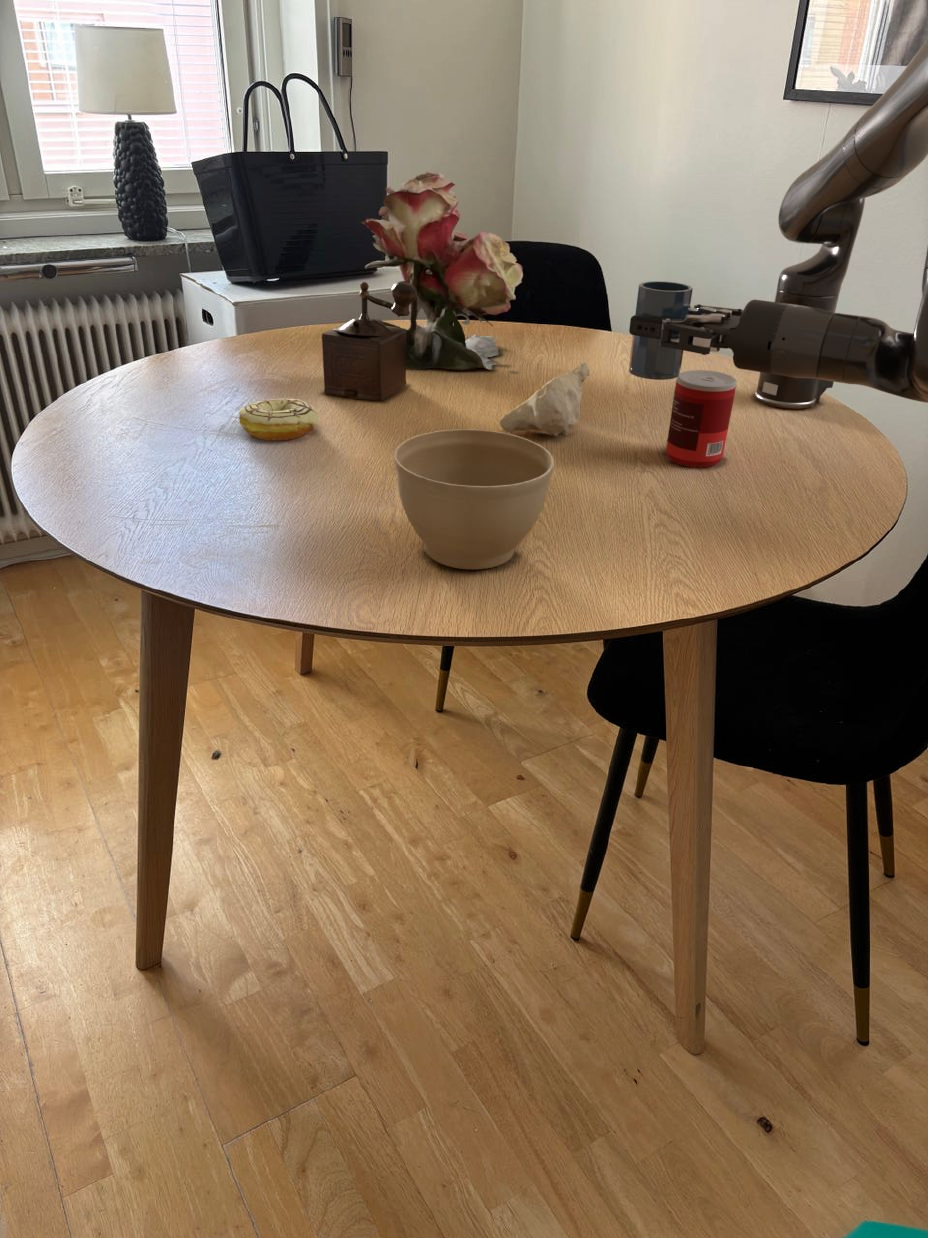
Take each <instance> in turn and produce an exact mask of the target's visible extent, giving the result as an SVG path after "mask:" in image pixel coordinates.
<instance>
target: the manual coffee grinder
mask: <svg viewBox="0 0 928 1238" xmlns="http://www.w3.org/2000/svg"><path fill="white" fill-rule="evenodd" d="M359 286H360V291H359V297H360V298H361V314H360V317H356V318H352V319H351V320H349V321H348V322H346V323H343V324H341V325H339V326H336V327H334V328H331V329H329V330H326V331H325V332H322V334H321V345H322V346H321V347H322V367H323V384H324V389H323V394H325V395H329V396H330V395H331V396H336V397H343V398H349V399H359V400H360V399H361V400H369V401H381V402H382V401H384V400H387V399H390V398H391V397H393V396H394V395H396V394H398V393H399V392H401V391H402V390H403V389H404V388H405V387H406V386H407V368H406V330H407V328H403V327H400V328H397V327H390V326H385V325H384V324H383V323H381V322H379V321H378V320H376V319H373V317H372V318H371V317H370V316H369V314H368V302H370V303H373V304H374V305H377V306H380V307H384V308H387V309H390V310H391V313H393V314H394V315H396V316H397V318H400V317H408V316H409V315H410V304H411V303H412V302H413V301H414V300H415V299H416V296H417V291H416V288H415V287H414V286H413V285H412V284H410V283H409V282H406V281H404V280H401V281H397V282H395V283H394V284H393V285H392V287H391V295H392V297H393V299H394V300H393V301H394V303H392V302H389V301H386V300H383V299H380V298H377V297H374V296H372V295H370V292H369V291H368V290H369V287H370V286H369V284H368V282H366V281H362V282H361V283H360V285H359Z"/></svg>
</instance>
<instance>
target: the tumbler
mask: <svg viewBox="0 0 928 1238" xmlns="http://www.w3.org/2000/svg"><path fill="white" fill-rule="evenodd" d="M637 290H638V291H637V297H636V298H637V299H636V307H635V314H634V315H644V316H651V317H658V318H664V319H666V318H670V319H682V318H683V317H684V316H685V315H689V310H690V306H691V302H692V298H693V297H692V296H693V290H694V288H693V287H692V286H691V285H688V284H685V283H680V282H674V281H665V280H664V281H662V280H657V281H656V280H654V281H652V280H651V281H645V282H641V283H639V284H638V289H637ZM672 336H675V337H679V336H680V332H679V331H676V330H672ZM659 340H660V339H654V338H648V337H641V336H635V335H632V340H631V347H630V356H629V364H628V366H629V369H628V371H629V373H630V374H631V375H633V376H634V377H637V378H641V379H647V380H654V381H666V380H674V379H677V377H678V376H679V374H680V373H681V369H682V363H683V357H684V350H678V349H673V348H668V347H662V346H660V345H659V343H660V341H659Z"/></svg>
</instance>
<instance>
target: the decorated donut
mask: <svg viewBox="0 0 928 1238" xmlns="http://www.w3.org/2000/svg"><path fill="white" fill-rule="evenodd" d="M238 414H239V416H238V420H239V424H240V426H241V427H242V428H243V430H244V431H245V432H246V433H247V434H248V435H250V436H251V437H254V438H256V439H260V440H265V441H270V442H271V441H278V440H279V441H280V440H282V441H286V440H292V439H293V440H294V439H298V438H300V437H302V436H305V435H307V434H308V433H310V432H312V431H313V429H314V428H316V427H317V425H318V424H319V413H318V411H317V408H315V406H313V405H311V404H310V403H309V402H306V401H304V400H301V399H299V398H298V399H297V398H269V399H261V400H256V401H252V402H250V403H248V404H245V405H244V406H243V407H241V408H240V410H239V412H238Z"/></svg>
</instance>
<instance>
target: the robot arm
mask: <svg viewBox="0 0 928 1238" xmlns="http://www.w3.org/2000/svg"><path fill="white" fill-rule="evenodd" d="M927 157H928V38H927V39H926V40H925V41H924V42H923V44H922V45H921V47H920V48H919V49H918V51H917V52H916V53H915V55H914V56H913V58H911V60H910V62H909V63H908V64H907V66H906V67H905V68H904V70H903V71H902V72H901V73H900V75H899V76H898V77H897V78H896V79H895V80H894V82H893V83H892V84H891V85H890V86H889V87H888V88H887V90H885V92H884V93H883V94H882V95H881V96H880V97H879V98H878V99H877V100H876V101H875V103H873V105H871V106H870V107H869V108H867V110H866V111H865V112H864V113H863V114H862V115H861V116H860V117H859V118H858V119H857V121H856V122H855V123H854V124H853V125H852V126H851V128H849V130H848V131H847V132H846V134H844V136H843V137H842V138H841V139H840V140H839V141H838V142H836V144H835V145H833V147H832V148H831V149H830V150H828V152H827V153H825V155H824V156H823V157H822V158H820V159H819V160H817V161H816V162H815V163H814V164H812V165H811V166H810V167H809V168H807V169H806V170H804V172H802V173H800V174H799V175H798V177H796V179H794V180H793V182H792V183H791V184H790V186H789V187H788V189H787V190H786V192H785V194H784V196H783V198H782V201H781V203H780V206H779V211H778V216H777V217H778V218H777V219H778V228H779V231H780V233H781V235H782V236H783V237H784V238H785V239H786V240H787V241H789V242H793V243H796V244H807V245H810V244H811V245H821V246H820V248H819V250H818V251H817V252H816V253H815V254H814V255H812V256H811V257H808V258H807V259H805V260H804V261H801V262H798V263H796V264H792V265H789V266H787V267H785V268H784V269H782V270H781V271H780V273H779V276H778V281H777V286H776V291H775V295H774V301H769V300H762V299H751V300H749V301H748V302H747V303H746V304H745V306H744V307H743V309H742V308H730V307H729V308H728V307H721V306H712V305H711V306H710V305H702V304H699V303H698V304H695V305H693V307H692V306H691V305H690V310H689V315H685V316H684V317H683V318H682V319H670V318H666V319H664V318H658V317H651V316H644V315H635V314H633V315H631V317H630V321H629V328H628V331H629V334H630V335H631V336H633V335H635V336H641V337H648V338H654V339H660V340H659V341H660V343H659V345H660V346H662V347H668V348H673V349H678V350H683V352H690V353H693V354H694V353H695V354H699V355H702V356H706V355H710V354H711V352H720V351H721V349H725V350H726V349H730V350H731V351H732V354H733V355H732V361H733V365H734V367H735V368H736V369H740V370H745V371H751V372H757V373H759V375H758V376H759V377H758V383H757V387H756V390H755V394H754V398H755V400H756V401H758V402H759V403H762V404H765V405H767V406H771V407H776V408H782V409H789V410H790V409H792V410H801V409H808V408H812V407H814V406H815V405H816V404H820V402H821V401H820V400H821V396H822V395H823V394H824V393H825V392H826V391H827V389H832V388H833V387H834V383H840V384H847V385H857V386H864V387H867V388H871V389H875V390H876V391H879V392H883V393H886V394H890V395H893V396H896V397H900V398H904V399H907V400H912V401H916V402H920V403H921V402H922V403H926V404H928V246H927V248H926V252H925V254H926V255H925V260H924V267H923V272H922V280H921V300H920V303H919V307H918V311H917V315H916V320H915V324H914V328H913V332H907V331H902V330H898V329H895V328H892V327H891V326H890V325H889V324H888V323H886V322H885V321H883V320H881V319H879V318H875V317H872V316H871V317H870V316H867V315H866V316H865V315H858V314H849V313H841V312H836V311H837V306H838V302H839V297H840V293H841V289H842V284H843V282H844V279H845V277H846V276H847V275H846V274H847V272H848V269H849V265H850V261H851V258H852V253H853V249H854V247H855V242H856V239H857V236H858V232H859V229H860V226H861V222H862V218H863V215H864V210H865V203H866V198H870V197H873V196H875V195H877V194H880V193H882V192H885V191H887V190H888V189H890V188H893V187H894V186H895V185H897V184H898V183H899V182H901V181H903V180H904V179H905V178H906V177H907V176H908V175H909V174H911V173H912V172H913V171H914V170H916V168H917V167H919V166H920V164H922V163H923V162H924V160H925V159H926V158H927ZM672 330H676V331H679V332H680V336H679V337H675V336H672Z"/></svg>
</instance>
